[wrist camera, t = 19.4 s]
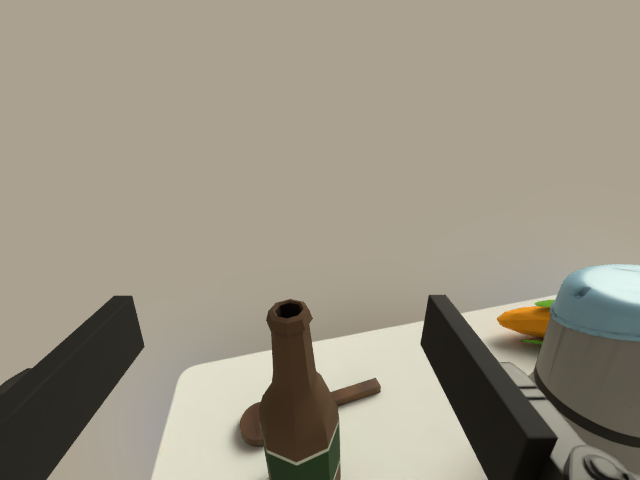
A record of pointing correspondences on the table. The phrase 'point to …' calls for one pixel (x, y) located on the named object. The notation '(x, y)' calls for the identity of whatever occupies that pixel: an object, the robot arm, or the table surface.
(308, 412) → the beer bottle
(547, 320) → the corn
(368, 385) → the wooden spoon
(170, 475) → the table surface
